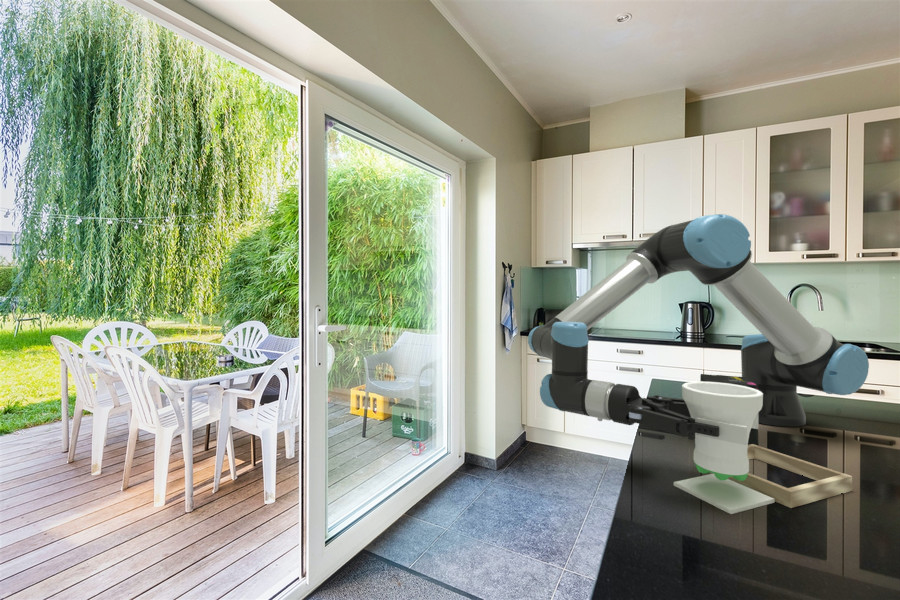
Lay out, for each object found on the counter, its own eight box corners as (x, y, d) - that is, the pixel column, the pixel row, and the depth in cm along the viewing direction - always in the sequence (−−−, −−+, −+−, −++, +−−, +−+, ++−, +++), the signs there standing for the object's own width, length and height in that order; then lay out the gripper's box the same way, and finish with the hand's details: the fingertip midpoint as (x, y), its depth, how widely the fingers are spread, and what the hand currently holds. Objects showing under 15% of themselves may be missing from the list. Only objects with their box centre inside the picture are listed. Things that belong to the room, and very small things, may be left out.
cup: (669, 458, 73) (669, 381, 73) (731, 459, 72) (731, 381, 72) (707, 487, 61) (707, 395, 61) (781, 489, 61) (781, 396, 61)
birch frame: (752, 456, 82) (752, 444, 82) (852, 490, 67) (852, 476, 67) (696, 467, 77) (696, 454, 77) (790, 508, 62) (790, 492, 62)
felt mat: (714, 476, 73) (714, 473, 73) (774, 502, 64) (774, 498, 64) (673, 485, 70) (673, 482, 70) (730, 514, 60) (730, 510, 60)
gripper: (635, 410, 87) (763, 434, 72) (587, 434, 72) (738, 472, 56) (635, 375, 87) (763, 392, 72) (587, 392, 72) (738, 419, 56)
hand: (752, 427), depth 64 cm, fingers closed on cup, 10 cm apart
